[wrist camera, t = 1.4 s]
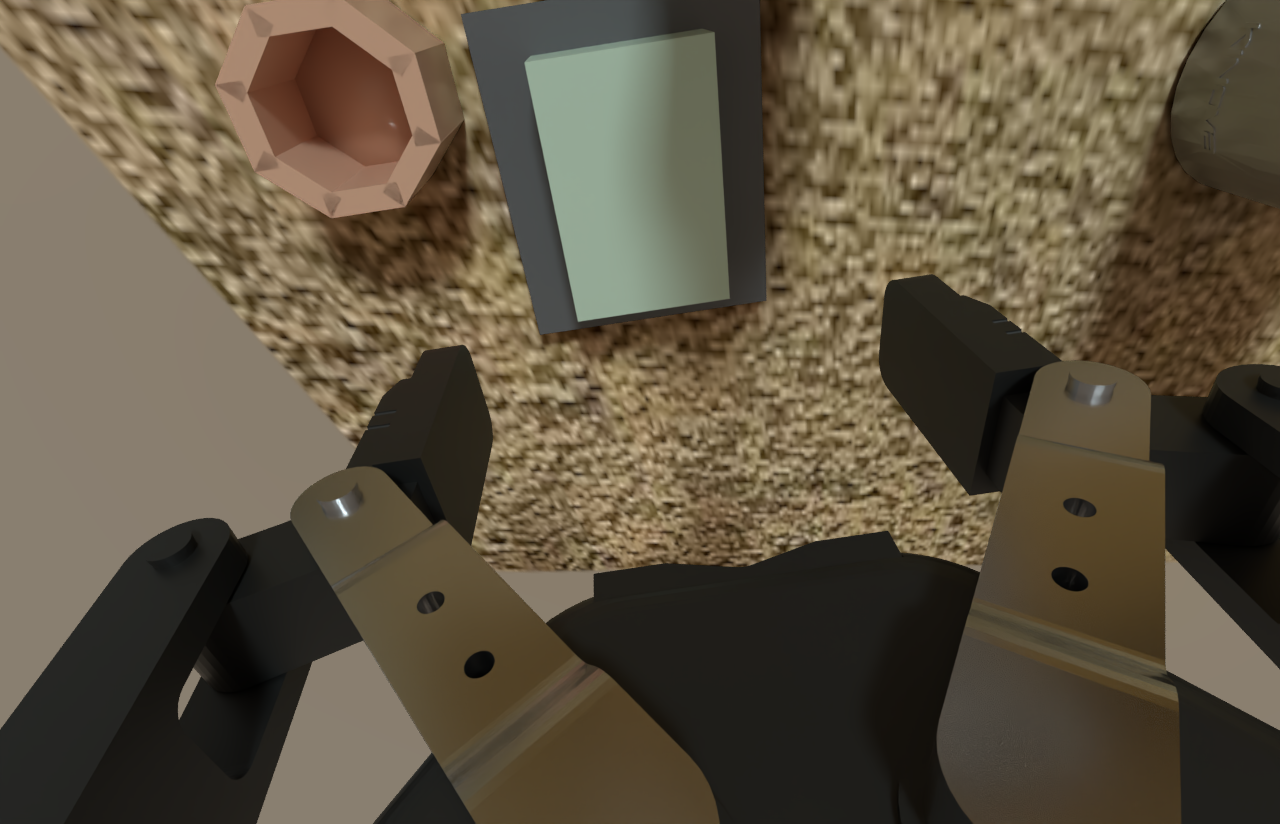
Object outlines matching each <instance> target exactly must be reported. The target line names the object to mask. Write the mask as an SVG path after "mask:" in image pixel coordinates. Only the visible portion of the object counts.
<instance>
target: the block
mask: <svg viewBox="0 0 1280 824" xmlns="http://www.w3.org/2000/svg"><path fill="white" fill-rule="evenodd" d="M524 63H525V68H526V73H527V78H528V83H529V87H530V92H531V97H532V102H533V107H534V112H535V116H536V121H537V126H538V131H539V136H540V141H541V145H542V150H543V155H544V160H545V165H546V170H547V174H548V179H549V184H550V189H551V194H552V199H553V203H554V208H555V213H556V218H557V223H558V228H559V232H560V237H561V242H562V247H563V252H564V257H565V261H566V266H567V271H568V276H569V281H570V286H571V290H572V295H573V300H574V305H575V310H576V315H577V319H578V322H580V321H586V320H593V319H599V318H606V317H613V316H619V315H626V314H632V313H639V312H646V311H652V310H659V309H665V308H672V307H679V306H685V305H692V304H698V303H705V302H712V301H718V300H725V299H730V294H729V276H728V259H727V242H726V224H725V207H724V189H723V172H722V154H721V137H720V119H719V102H718V85H717V67H716V50H715V32H712V31H709V30H705V29H697V30H690V31H684V32H678V33H671V34H665V35H659V36H653V37H646V38H640V39H634V40H627V41H621V42H615V43H609V44H602V45H596V46H590V47H583V48H577V49H571V50H565V51H558V52H552V53H546V54H539V55H533V56H530V57H529V58H528V59H527V60H526V61H525V62H524Z"/></svg>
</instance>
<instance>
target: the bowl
mask: <svg viewBox="0 0 1280 824" xmlns="http://www.w3.org/2000/svg"><path fill="white" fill-rule="evenodd" d="M215 86H216V88H217V90H218V92H219V94H220V97H221V99H222V101H223V103H224V105H225V108H226V110H227V112H228V114H229V116H230V118H231V121H232V123H233V125H234V127H235V129H236V132H237V134H238V136H239V138H240V140H241V143H242V145H243V147H244V149H245V151H246V154H247V156H248V158H249V160H250V162H251V165H252V167H253V169H254V171H255V172H256V173H257V174H259V175H261V176H262V177H264V178H266V179H267V180H269V181H271V182H272V183H274V184H276V185H277V186H279V187H281V188H282V189H284V190H286V191H287V192H289V193H290V194H292V195H294V196H295V197H297V198H299V199H300V200H302V201H304V202H305V203H307V204H309V205H310V206H312V207H314V208H315V209H317V210H319V211H320V212H322V213H323V214H325V215H327V216H328V217H330V218H337V217H343V216H349V215H356V214H362V213H369V212H375V211H382V210H388V209H394V208H401V207H405V206H406V205H407V204H408V203H409V202H410V201H411V200H412V198H413V197H414V196H415V195H416V194H417V193H418V191H419V190H420V189H421V188H422V187H423V186H424V184H425V183H426V182H427V181H428V180H429V179H430V177H431V176H432V175H433V174H434V172H435V170H436V168H437V166H438V165H439V163H440V161H441V159H442V158H443V156H444V154H445V152H446V151H447V149H448V147H449V145H450V143H451V142H452V140H453V138H454V136H455V135H456V133H457V131H458V129H459V128H460V126H461V124H462V122H463V120H464V116H463V113H462V109H461V105H460V101H459V97H458V94H457V90H456V86H455V82H454V79H453V75H452V71H451V67H450V64H449V60H448V56H447V52H446V49H445V45H444V43H443V42H442V41H441V40H440V39H438V38H437V37H436V36H434V35H433V34H432V33H430V32H429V31H428V30H426V29H425V28H424V27H423V26H421V25H420V24H419V23H417V22H416V21H415V20H413V19H412V18H411V17H410V16H408V15H407V14H406V13H404V12H403V11H402V10H400V9H399V8H398V7H397V6H395V5H394V4H393V3H391V2H390V1H389V0H275V1H269V2H262V3H256V4H250V5H245V6H244V9H243V11H242V14H241V17H240V19H239V22H238V25H237V27H236V30H235V33H234V35H233V38H232V41H231V44H230V46H229V49H228V52H227V54H226V57H225V60H224V62H223V65H222V68H221V70H220V73H219V76H218V78H217V81H216V84H215Z"/></svg>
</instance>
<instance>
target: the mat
mask: <svg viewBox="0 0 1280 824" xmlns="http://www.w3.org/2000/svg"><path fill="white" fill-rule="evenodd" d="M461 16H462V21H463V25H464V29H465V33H466V37H467V41H468V45H469V49H470V53H471V57H472V61H473V65H474V69H475V73H476V77H477V81H478V85H479V89H480V93H481V97H482V101H483V106H484V110H485V114H486V118H487V122H488V126H489V130H490V134H491V138H492V142H493V146H494V150H495V154H496V158H497V162H498V166H499V170H500V174H501V178H502V182H503V186H504V190H505V195H506V199H507V203H508V207H509V211H510V215H511V219H512V223H513V227H514V231H515V235H516V239H517V243H518V247H519V251H520V255H521V259H522V263H523V267H524V271H525V275H526V280H527V284H528V288H529V292H530V296H531V300H532V304H533V308H534V312H535V316H536V320H537V324H538V328H539V332H540V335H542V334H548V333H555V332H561V331H568V330H575V329H581V328H588V327H595V326H601V325H608V324H614V323H621V322H628V321H634V320H641V319H647V318H654V317H661V316H667V315H674V314H680V313H687V312H694V311H700V310H707V309H713V308H720V307H727V306H733V305H740V304H746V303H753V302H760V301H766V259H765V215H764V170H763V125H762V80H761V35H760V0H547V1H540V2H534V3H528V4H522V5H515V6H509V7H503V8H497V9H490V10H484V11H478V12H472V13H466V14H461ZM697 29H705V30H709V31H712V32H715V50H716V67H717V85H718V102H719V119H720V137H721V154H722V172H723V189H724V207H725V224H726V242H727V259H728V276H729V294H730V299H725V300H718V301H712V302H705V303H698V304H692V305H685V306H679V307H672V308H665V309H659V310H652V311H646V312H639V313H632V314H626V315H619V316H613V317H606V318H599V319H593V320H586V321H580V322H578V319H577V315H576V310H575V305H574V300H573V295H572V290H571V286H570V281H569V276H568V271H567V266H566V261H565V257H564V252H563V247H562V242H561V237H560V232H559V228H558V223H557V218H556V213H555V208H554V203H553V199H552V194H551V189H550V184H549V179H548V174H547V170H546V165H545V160H544V155H543V150H542V145H541V141H540V136H539V131H538V126H537V121H536V116H535V112H534V107H533V102H532V97H531V92H530V87H529V83H528V78H527V73H526V68H525V63H524V62H525V61H526V60H527V59H528V58H529V57H530V56H533V55H539V54H546V53H552V52H558V51H565V50H571V49H577V48H583V47H590V46H596V45H602V44H609V43H615V42H621V41H627V40H634V39H640V38H646V37H653V36H659V35H665V34H671V33H678V32H684V31H690V30H697Z"/></svg>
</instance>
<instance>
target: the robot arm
mask: <svg viewBox="0 0 1280 824" xmlns="http://www.w3.org/2000/svg"><path fill="white" fill-rule="evenodd" d="M1171 140H1172V144H1173V147H1174V151H1175V155H1176V158H1177V159H1178V161H1179V162H1180V164H1181V166H1182V167H1183V169H1184V170H1185V172H1186V173H1187V174H1189V175H1190V176H1191V177H1193V178H1194V179H1195V180H1196V181H1198V182H1199V183H1201V184H1204V185H1207V186H1210V187H1213V188H1215V189H1218V190H1222V191H1225V192H1228V193H1231V194H1234V195H1237V196H1240V197H1244V198H1247V199H1250V200H1253V201H1256V202H1259V203H1263V204H1266V205H1269V206H1272V207H1275V208H1278V209H1280V0H1227V1H1226V2H1225V3H1224V5H1223V6H1222V7H1221V9H1220V10H1219V11H1218V13H1217V14H1216V15H1215V17H1214V18H1213V19H1212V21H1211V22H1210V23H1209V25H1208V26H1207V27H1206V28H1205V30H1204V32H1203V33H1202V35H1201V37H1200V39H1199V40H1198V42H1197V44H1196V46H1195V47H1194V49H1193V51H1192V53H1191V54H1190V56H1189V58H1188V60H1187V62H1186V65H1185V67H1184V70H1183V72H1182V75H1181V77H1180V80H1179V83H1178V85H1177V88H1176V93H1175V97H1174V102H1173V107H1172V111H1171ZM879 365H880V371H881V375H882V378H883V381H884V383H885V385H886V386H887V388H888V389H889V391H890V392H891V393H892V394H893V396H894V397H895V398H896V400H897V401H898V402H899V404H900V405H901V406H902V408H903V409H904V410H905V412H906V413H907V414H908V415H909V417H910V418H911V419H912V421H913V422H914V423H915V425H916V426H917V427H918V429H919V430H920V431H921V432H922V434H923V435H924V436H925V438H926V439H927V440H928V442H929V443H930V444H931V446H932V447H933V448H934V450H935V451H936V452H937V453H938V455H939V456H940V457H941V459H942V460H943V461H944V463H945V464H946V465H947V467H948V468H949V469H950V471H951V472H952V473H953V474H954V476H955V477H956V478H957V480H958V481H959V482H960V484H961V485H962V486H963V488H964V489H965V490H966V491H967V493H968V494H969V495H977V494H984V493H991V492H998V491H1000V492H1001V493H1002V495H1001V498H1000V502H999V506H998V509H997V513H996V517H995V520H994V524H993V528H992V531H991V535H990V539H989V542H988V546H987V550H986V553H985V557H984V560H983V564H982V568H981V572H978V571H975V570H973V569H970V568H968V567H966V566H963V565H959V564H956V563H953V562H950V561H947V560H943V559H939V558H934V557H930V556H924V555H918V554H911V553H900V551H899V549H898V548H897V546H896V544H895V542H894V541H893V539H892V537H891V535H890V533H889V532H888V531H883V532H876V533H869V534H863V535H856V536H849V537H842V538H835V539H828V540H822V541H815V542H812V543H810V544H807V545H804V546H802V547H799V548H796V549H794V550H791V551H788V552H785V553H783V554H780V555H777V556H775V557H772V558H769V559H767V560H764V561H761V562H759V563H756V564H753V565H750V566H746V567H722V566H704V565H686V564H668V563H665V564H658V565H651V566H644V567H637V568H630V569H624V570H617V571H610V572H603V573H596V574H594V597H592V598H590V599H587V600H585V601H582V602H580V603H578V604H576V605H574V606H572V607H570V608H568V609H567V610H565V611H563V612H562V613H560V614H559V615H557V616H555V617H554V618H552V619H551V620H549V621H548V622H547V623H545V622H544V621H543V620H542V619H541V618H540V617H539V616H538V615H537V614H536V613H535V612H534V611H533V610H532V609H531V608H530V607H529V606H528V605H527V604H526V603H525V602H524V600H522V598H520V596H519V595H518V594H517V593H516V592H515V591H514V590H513V589H512V588H511V587H510V586H509V585H508V584H507V583H506V582H505V581H504V580H503V579H502V578H501V577H500V576H499V575H498V574H497V572H496V571H495V570H494V569H493V568H492V567H491V566H490V565H489V564H488V563H487V562H486V561H485V560H484V559H483V558H482V557H481V556H480V555H479V554H478V553H477V552H476V551H475V550H474V549H473V548H472V547H471V544H472V539H473V534H474V529H475V524H476V520H477V515H478V510H479V505H480V501H481V496H482V491H483V486H484V481H485V477H486V472H487V467H488V462H489V458H490V453H491V448H492V442H493V432H492V423H491V418H490V414H489V411H488V408H487V404H486V401H485V398H484V395H483V392H482V389H481V386H480V383H479V380H478V377H477V373H476V370H475V367H474V364H473V361H472V358H471V355H470V353H469V351H468V349H467V348H466V346H465V345H459V346H452V347H446V348H439V349H433V350H426V351H424V352H423V353H422V355H421V358H420V360H419V362H418V364H417V366H416V369H415V371H414V373H413V375H412V377H411V378H410V379H403V380H400V381H399V382H398V383H397V384H396V385H395V386H394V387H392V388H391V389H390V390H389V391H388V392H387V393H386V394H385V395H383V397H382V399H381V401H380V403H379V405H378V407H377V409H376V410H375V412H374V414H375V416H372V418H371V420H370V422H369V424H368V426H367V428H368V430H365V432H364V434H363V436H362V438H361V440H360V442H359V444H358V446H357V448H356V450H355V452H354V454H353V456H352V458H351V460H350V462H349V464H348V466H347V468H346V469H345V470H341V471H338V472H336V473H333V474H331V475H329V476H327V477H324V478H323V479H321V480H319V481H317V482H316V483H314V484H313V485H311V486H310V487H309V488H308V489H307V490H305V491H304V492H303V493H302V494H301V495H300V496H299V498H298V499H297V500H296V501H295V503H294V505H293V507H292V509H291V513H290V518H291V520H290V521H288V522H285V523H283V524H280V525H277V526H274V527H271V528H268V529H266V530H263V531H260V532H257V533H255V534H252V535H249V536H246V537H243V538H241V539H237V537H236V536H235V534H234V533H233V531H232V530H231V529H230V527H229V526H228V524H227V523H225V522H224V521H222V520H220V519H215V518H203V519H196V520H192V521H188V522H185V523H182V524H179V525H177V526H175V527H172V528H170V529H168V530H166V531H164V532H162V533H160V534H158V535H157V536H155V537H153V538H152V539H150V540H149V541H147V542H146V543H144V544H143V545H142V546H141V547H139V548H138V549H137V550H136V551H135V552H134V553H133V554H132V555H131V556H130V557H129V558H128V559H127V560H126V561H125V562H124V563H123V565H122V566H121V568H120V569H119V570H118V572H117V573H116V574H115V576H114V577H113V578H112V580H111V581H110V582H109V584H108V585H107V586H106V588H105V589H104V590H103V592H102V593H101V594H100V596H99V597H98V599H97V600H96V601H95V603H94V604H93V605H92V607H91V608H90V609H89V611H88V612H87V613H86V615H85V616H84V617H83V619H82V620H81V622H80V623H79V624H78V626H77V627H76V628H75V630H74V631H73V632H72V634H71V635H70V637H69V638H68V639H67V640H66V642H65V643H64V644H63V646H62V648H60V650H59V651H58V653H57V654H56V655H55V657H54V658H53V660H52V661H51V662H50V663H49V665H48V666H47V668H46V669H45V670H44V671H43V673H42V674H41V675H40V677H39V678H38V679H37V681H36V682H35V683H34V685H33V686H32V688H31V689H30V690H29V692H28V693H27V694H26V696H25V697H24V698H23V700H22V701H21V702H20V704H19V705H18V706H17V708H16V709H15V710H14V712H13V713H12V714H11V716H10V717H9V719H8V720H7V721H6V723H5V724H4V725H3V727H2V728H1V730H0V824H256V823H257V820H258V817H259V814H260V812H261V809H262V806H263V803H264V800H265V797H266V794H267V791H268V788H269V785H270V783H271V780H272V777H273V774H274V771H275V768H276V765H277V762H278V760H279V756H280V754H281V751H282V748H283V745H284V742H285V739H286V736H287V733H288V731H289V727H290V725H291V722H292V719H293V716H294V713H295V710H296V707H297V705H298V701H299V699H300V696H301V693H302V690H303V687H304V684H305V681H306V678H307V676H308V672H309V670H310V667H311V664H312V661H315V660H317V659H320V658H322V657H324V656H327V655H329V654H332V653H334V652H336V651H339V650H341V649H344V648H346V647H348V646H351V645H353V644H356V643H358V642H361V641H363V640H364V642H365V643H366V645H367V647H368V649H369V650H370V652H371V653H372V655H373V657H374V658H375V660H376V662H377V663H378V665H379V667H380V668H381V670H382V672H383V673H384V675H385V676H386V678H387V680H388V681H389V683H390V685H391V686H392V688H393V690H394V691H395V693H396V694H397V696H398V698H399V699H400V701H401V703H402V704H403V706H404V707H405V709H406V711H407V712H408V714H409V716H410V718H411V719H412V721H413V722H414V724H415V725H416V727H417V729H418V731H419V732H420V734H421V736H422V737H423V739H424V741H425V742H426V744H427V745H428V747H429V749H430V750H431V752H432V753H431V754H430V756H429V757H428V758H427V759H426V760H425V761H424V763H423V764H422V765H421V766H420V768H419V769H418V770H417V771H416V772H415V774H414V775H413V776H412V777H411V778H410V780H409V781H408V782H407V783H406V785H405V786H404V787H403V788H402V789H401V790H400V792H399V793H398V794H397V795H396V796H395V798H394V799H393V800H392V801H391V802H390V804H389V805H388V806H387V807H386V808H385V810H384V811H383V812H382V813H381V814H380V816H379V817H378V818H377V819H376V820H375V822H374V823H373V824H1280V730H1278V729H1276V728H1274V727H1272V726H1270V725H1268V724H1266V723H1264V722H1263V721H1261V720H1259V719H1257V718H1255V717H1253V716H1251V715H1249V714H1248V713H1246V712H1244V711H1242V710H1240V709H1238V708H1236V707H1234V706H1232V705H1231V704H1229V703H1227V702H1225V701H1223V700H1221V699H1219V698H1217V697H1215V696H1214V695H1211V694H1210V693H1208V692H1206V691H1204V690H1202V689H1200V688H1198V687H1197V686H1194V685H1193V684H1191V683H1189V682H1187V681H1185V680H1183V679H1181V678H1180V677H1178V676H1176V675H1174V674H1172V673H1170V672H1168V671H1166V665H1165V548H1166V550H1167V551H1168V552H1169V553H1170V554H1171V555H1172V556H1173V557H1174V558H1175V559H1176V560H1177V561H1178V562H1179V563H1180V564H1181V565H1182V566H1183V567H1184V569H1185V570H1186V571H1187V572H1188V573H1189V574H1190V575H1191V576H1192V577H1193V578H1194V579H1195V580H1196V581H1197V582H1198V583H1199V584H1200V585H1201V586H1202V587H1203V589H1204V590H1205V591H1206V592H1207V593H1208V594H1209V595H1210V596H1211V597H1212V598H1213V599H1214V600H1215V601H1216V602H1217V603H1218V604H1219V605H1220V606H1221V608H1222V609H1223V610H1224V611H1225V612H1226V613H1227V614H1228V615H1229V616H1230V617H1231V618H1232V619H1233V620H1234V621H1235V622H1236V623H1237V624H1238V625H1239V627H1240V628H1241V629H1242V630H1243V631H1244V632H1245V633H1246V634H1247V635H1248V636H1249V637H1250V638H1251V639H1252V640H1253V641H1254V642H1255V643H1256V644H1257V646H1258V647H1260V649H1261V650H1262V651H1263V652H1264V653H1265V654H1266V655H1267V656H1268V657H1269V658H1270V659H1271V660H1272V661H1273V662H1274V663H1275V664H1276V665H1277V667H1278V668H1279V669H1280V366H1275V365H1263V364H1250V365H1239V366H1233V367H1230V368H1227V369H1225V370H1223V371H1221V372H1220V373H1219V374H1218V376H1217V378H1216V380H1215V382H1214V385H1213V387H1212V389H1211V391H1210V394H1209V396H1208V397H1186V396H1157V395H1151V392H1150V389H1149V387H1148V386H1147V385H1146V383H1145V382H1144V381H1143V380H1141V379H1140V378H1138V377H1137V376H1135V375H1134V374H1132V373H1130V372H1128V371H1125V370H1123V369H1120V368H1117V367H1114V366H1111V365H1107V364H1103V363H1097V362H1091V361H1076V360H1074V361H1062V360H1060V359H1059V358H1058V357H1056V356H1055V355H1054V354H1053V353H1051V352H1050V351H1049V350H1047V349H1046V348H1045V347H1044V346H1042V345H1041V344H1040V343H1038V342H1037V341H1036V340H1034V339H1033V338H1032V337H1031V336H1029V335H1028V334H1027V333H1025V332H1023V333H1022V332H1021V329H1020V328H1019V327H1018V326H1016V325H1015V324H1014V323H1012V322H1011V321H1007V318H1006V317H1005V316H1003V315H1002V314H1001V313H1000V312H998V311H997V310H996V309H994V308H993V307H992V306H990V305H988V304H986V303H983V302H980V301H978V300H975V299H972V298H970V297H967V296H964V295H963V296H960V295H959V294H957V293H956V292H955V291H954V290H953V289H951V288H950V287H949V286H948V285H946V284H945V283H944V282H943V281H941V280H940V279H939V278H938V277H936V276H935V275H932V274H931V275H924V276H917V277H911V278H904V279H898V280H892V281H890V282H889V283H888V285H887V287H886V290H885V296H884V306H883V317H882V328H881V339H880V350H879ZM193 668H194V669H195V670H196V671H197V672H198V673H199V674H200V675H201V678H200V680H199V682H198V684H197V686H196V688H195V690H194V692H193V694H192V696H191V698H190V700H189V702H188V704H187V706H186V708H185V710H184V712H183V714H182V716H181V718H180V720H179V719H178V701H179V697H180V693H181V691H182V688H183V686H184V684H185V682H186V680H187V679H188V677H189V675H190V673H191V671H192V669H193Z"/></svg>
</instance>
